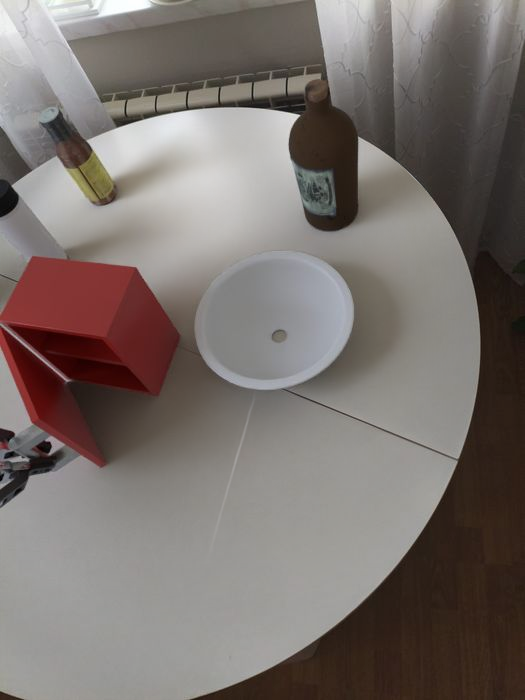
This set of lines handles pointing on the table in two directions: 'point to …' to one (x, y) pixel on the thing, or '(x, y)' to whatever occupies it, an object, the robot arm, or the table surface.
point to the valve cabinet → (93, 323)
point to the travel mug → (25, 227)
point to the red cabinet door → (47, 408)
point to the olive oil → (325, 160)
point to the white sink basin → (274, 320)
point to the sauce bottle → (78, 158)
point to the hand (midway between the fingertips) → (52, 454)
